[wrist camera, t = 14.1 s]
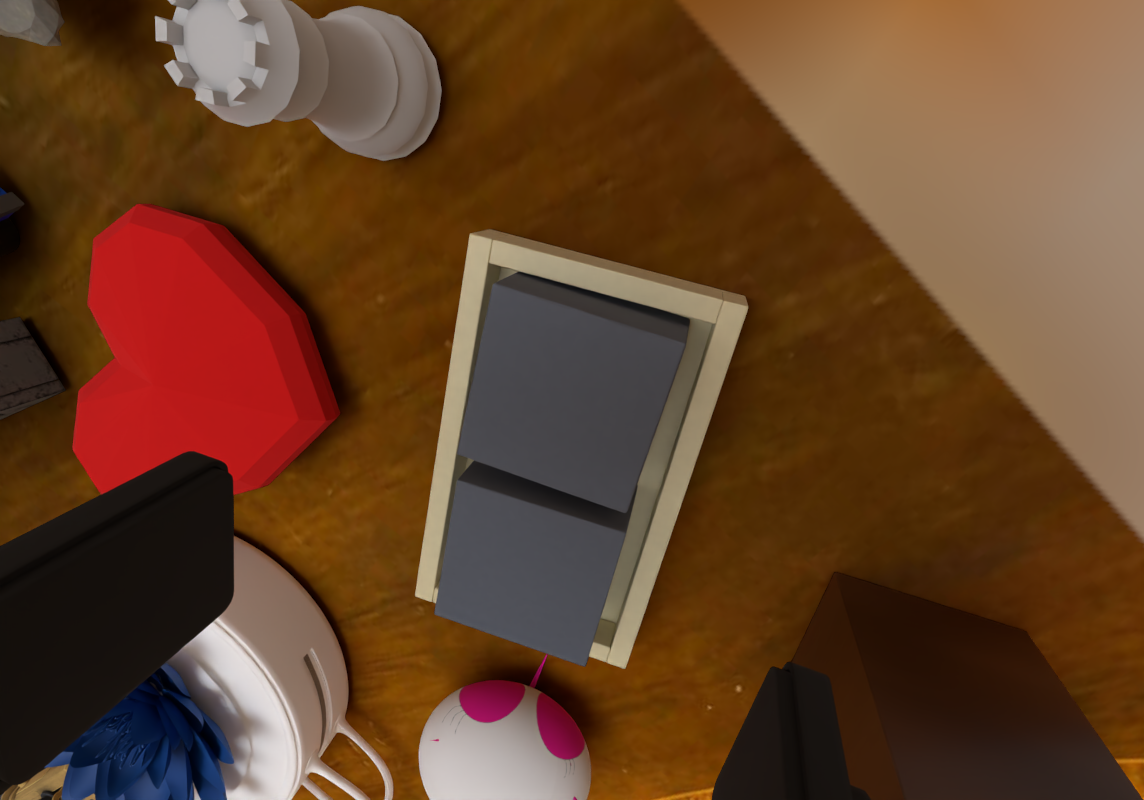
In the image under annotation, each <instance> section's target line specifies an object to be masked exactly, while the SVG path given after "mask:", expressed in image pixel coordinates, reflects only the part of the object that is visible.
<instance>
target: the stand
mask: <svg viewBox="0 0 1144 800" xmlns="http://www.w3.org/2000/svg"><path fill="white" fill-rule="evenodd" d="M792 663H795V664H798V665H800V666H803V667H806V668H809V669H812V670H814V671H817V672H820V673H823V674H826V675H827V676H828V677H829V679H830V682H831V687H832V692H833V697H834V702H835V708H836V713H837V718H838V724H839V729H840V734H841V739H842V745H843V750H844V755H845V760H846V766H847V771H848V776H849V782H850V785H852V786H855V787H858V788H860V789H862V790H864V791H866V793H867V794H868V796H869V797H870V799H871V800H1143V799H1142V798H1141V796H1140V795H1139V793H1138V792H1137V790H1136V789H1135V788H1134V786H1133V785H1132V783H1131V782H1130V780H1129V779H1128V777H1127V776H1126V775H1125V773H1124V772H1123V770H1122V769H1121V767H1120V766H1119V764H1118V763H1117V762H1116V760H1115V759H1114V757H1113V756H1112V754H1111V753H1110V751H1109V750H1108V749H1107V747H1106V746H1105V744H1104V743H1103V741H1102V740H1101V738H1100V737H1099V736H1098V734H1097V733H1096V731H1095V730H1094V728H1093V727H1092V726H1091V724H1090V723H1089V721H1088V720H1087V718H1086V717H1085V715H1084V714H1083V713H1082V711H1081V710H1080V708H1079V707H1078V705H1077V704H1076V702H1075V701H1074V700H1073V698H1072V697H1071V695H1070V694H1069V692H1068V691H1067V689H1066V688H1065V687H1064V685H1063V684H1062V682H1061V681H1060V679H1059V678H1058V676H1057V675H1056V674H1055V672H1054V671H1053V669H1052V668H1051V666H1050V665H1049V663H1048V662H1047V661H1046V659H1045V658H1044V656H1043V655H1042V653H1041V652H1040V651H1039V649H1038V648H1037V646H1036V645H1035V643H1034V642H1033V640H1032V639H1031V638H1030V636H1029V635H1028V633H1027V632H1025V631H1022V630H1019V629H1016V628H1013V627H1010V626H1006V625H1003V624H1000V623H997V622H994V621H990V620H987V619H984V618H981V617H978V616H974V615H971V614H968V613H965V612H962V611H958V610H955V609H952V608H949V607H946V606H942V605H939V604H936V603H933V602H930V601H926V600H923V599H920V598H917V597H914V596H910V595H907V594H904V593H901V592H898V591H894V590H891V589H888V588H885V587H882V586H878V585H875V584H872V583H869V582H866V581H862V580H859V579H856V578H853V577H850V576H846V575H843V574H840V573H837V572H835V573H834V575H833V577H832V579H831V581H830V583H829V585H828V587H827V589H826V592H825V594H824V596H823V598H822V600H821V602H820V604H819V606H818V608H817V610H816V612H815V614H814V617H813V619H812V621H811V623H810V625H809V627H808V629H807V631H806V633H805V635H804V637H803V639H802V642H801V644H800V646H799V648H798V650H797V652H796V654H795V656H794V658H793V660H792Z"/></svg>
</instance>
